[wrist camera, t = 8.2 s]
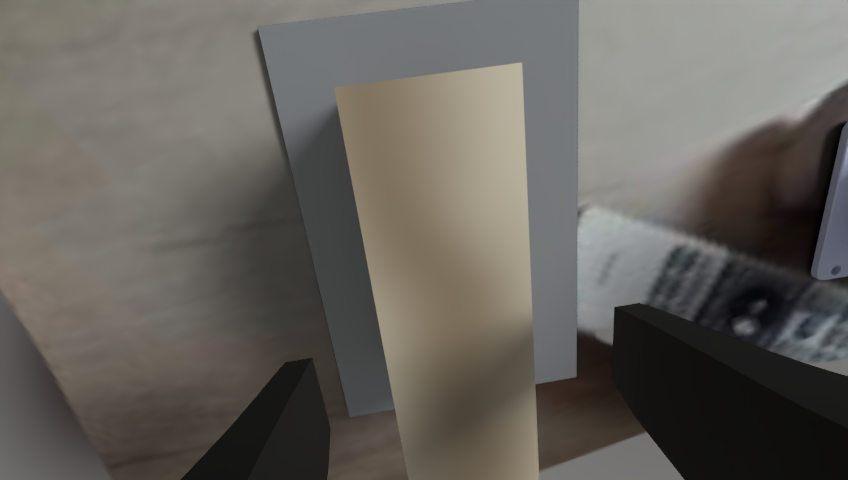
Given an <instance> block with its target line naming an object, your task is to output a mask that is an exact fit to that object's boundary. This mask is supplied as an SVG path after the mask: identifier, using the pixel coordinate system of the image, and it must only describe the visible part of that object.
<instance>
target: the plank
mask: <svg viewBox="0 0 848 480" xmlns="http://www.w3.org/2000/svg"><path fill="white" fill-rule="evenodd" d="M334 90H335V96H336V101H337V106H338V111H339V117H340V122H341V127H342V133H343V138H344V143H345V148H346V154H347V159H348V164H349V169H350V175H351V180H352V185H353V190H354V196H355V201H356V206H357V212H358V217H359V222H360V227H361V233H362V238H363V243H364V248H365V254H366V259H367V264H368V270H369V275H370V280H371V285H372V291H373V296H374V301H375V306H376V312H377V317H378V322H379V327H380V333H381V338H382V343H383V349H384V354H385V359H386V364H387V370H388V375H389V380H390V385H391V391H392V396H393V401H394V406H395V412H396V417H397V422H398V428H399V433H400V438H401V443H402V449H403V454H404V459H405V464H406V470H407V475H408V480H539V462H538V437H537V413H536V388H535V364H534V340H533V315H532V291H531V266H530V242H529V217H528V193H527V169H526V144H525V120H524V95H523V71H522V63H514V64H507V65H499V66H492V67H484V68H477V69H470V70H462V71H455V72H447V73H440V74H432V75H425V76H417V77H410V78H402V79H395V80H387V81H380V82H373V83H365V84H358V85H350V86H343V87H335V88H334Z"/></svg>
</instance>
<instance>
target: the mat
mask: <svg viewBox="0 0 848 480" xmlns="http://www.w3.org/2000/svg"><path fill="white" fill-rule="evenodd" d="M578 15H579V0H475V1H466V2H458V3H449V4H441V5H433V6H424V7H416V8H408V9H399V10H391V11H383V12H374V13H366V14H358V15H349V16H341V17H333V18H324V19H316V20H308V21H299V22H291V23H283V24H274V25H266V26H258V31H259V35H260V39H261V43H262V48H263V52H264V56H265V60H266V65H267V69H268V73H269V77H270V82H271V86H272V90H273V94H274V99H275V103H276V107H277V111H278V116H279V120H280V124H281V128H282V133H283V137H284V141H285V145H286V150H287V154H288V158H289V162H290V167H291V171H292V175H293V179H294V184H295V188H296V192H297V196H298V201H299V205H300V209H301V213H302V218H303V222H304V226H305V231H306V235H307V239H308V243H309V248H310V252H311V256H312V260H313V265H314V269H315V273H316V277H317V282H318V286H319V290H320V294H321V299H322V303H323V307H324V311H325V316H326V320H327V324H328V328H329V333H330V337H331V341H332V345H333V350H334V354H335V358H336V362H337V367H338V371H339V375H340V379H341V384H342V388H343V392H344V396H345V401H346V405H347V409H348V413H349V417H355V416H361V415H366V414H372V413H377V412H383V411H389V410H394V409H395V406H394V401H393V396H392V391H391V385H390V380H389V375H388V370H387V364H386V359H385V354H384V349H383V343H382V338H381V333H380V327H379V322H378V317H377V312H376V306H375V301H374V296H373V291H372V285H371V280H370V275H369V270H368V264H367V259H366V254H365V248H364V243H363V238H362V233H361V227H360V222H359V217H358V212H357V206H356V201H355V196H354V190H353V185H352V180H351V175H350V169H349V164H348V159H347V154H346V148H345V143H344V138H343V133H342V127H341V122H340V117H339V111H338V106H337V101H336V96H335V90H334V88H335V87H343V86H350V85H358V84H365V83H373V82H380V81H387V80H395V79H402V78H410V77H417V76H425V75H432V74H440V73H447V72H455V71H462V70H470V69H477V68H484V67H492V66H499V65H507V64H514V63H522V71H523V95H524V120H525V144H526V169H527V193H528V217H529V242H530V266H531V291H532V315H533V340H534V364H535V384H539V383H545V382H551V381H556V380H562V379H567V378H573V377H577V196H578Z"/></svg>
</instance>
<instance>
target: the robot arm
mask: <svg viewBox="0 0 848 480" xmlns="http://www.w3.org/2000/svg"><path fill="white" fill-rule="evenodd" d="M811 275H812V276H813V277H814V278H817V279H819V280H829V279H835V278H841V277H846V276H848V122H847V123H846V124H845V126H844V127H843V129H842V132H841V137H840V141H839V146H838V150H837V155H836V159H835V164H834V168H833V173H832V177H831V182H830V187H829V191H828V196H827V200H826V205H825V209H824V214H823V218H822V223H821V227H820V232H819V237H818V241H817V246H816V250H815V255H814V259H813V264H812V268H811ZM613 335H614V337H613V358H612V379H613V381H614V382H615V384H616V386H617V388H618V389H619V391H620V393H621V394H622V396H623V398H624V400H625V401H626V403H627V404H628V406H629V408H630V409H631V411H632V412H633V414H634V416H635V417H636V418H637V420H638V421H639V422H640V423H641V425H642V426H643V427H644V429H645V430H646V431H647V433H648V434H649V435H650V436H651V438H652V439H653V440H654V441H655V443H656V444H657V445H658V447H659V448H660V449H661V450H662V452H663V453H664V454H665V455H666V457H667V458H668V459H669V460H670V462H671V463H672V464H673V465H674V467H675V468H676V469H677V471H678V472H679V473H680V474H681V476H682V477H683V478H684V479H685V480H848V376H845V375H841V374H838V373H834V372H831V371H827V370H825V369H821V368H818V367H815V366H811V365H809V364H806V363H803V362H800V361H797V360H794V359H791V358H788V357H785V356H782V355H779V354H776V353H773V352H770V351H768V350H765V349H762V348H759V347H757V346H754V345H751V344H748V343H746V342H743V341H740V340H738V339H735V338H732V337H730V336H727V335H724V334H722V333H719V332H717V331H714V330H711V329H709V328H706V327H704V326H701V325H699V324H696V323H693V322H691V321H688V320H686V319H683V318H681V317H678V316H675V315H673V314H670V313H667V312H665V311H662V310H659V309H656V308H653V307H650V306H647V305H644V304H640V303H637V304H631V305H625V306H619V307H615V310H614V334H613ZM329 444H330V425H329V421H328V417H327V413H326V410H325V406H324V402H323V398H322V394H321V390H320V386H319V382H318V379H317V375H316V371H315V367H314V363H313V359H312V358H309V359H303V360H297V361H291V362H285V364H284V365H283V366H282V367H281V368H280V369H279V370H278V372H277V373H276V374H275V375H274V376H273V377H272V379H271V380H270V381H269V382H268V383H267V385H266V386H265V387H264V388H263V389H262V391H261V392H260V393H259V394H258V395H257V397H256V398H255V399H254V400H253V401H252V403H251V404H250V405H249V406H248V407H247V408H246V409H245V411H244V412H243V413H242V414H241V415H240V416H239V418H238V419H237V420H236V421H235V422H234V423H233V425H232V426H231V427H230V428H229V429H228V430H227V431H226V432H225V433H224V434H223V436H222V437H221V438H220V439H219V440H218V441H217V442H216V443H215V444H214V445H213V446H212V447H211V448H210V449H209V450H208V451H207V453H206V454H205V455H204V456H203V457H202V458H201V459H200V460H199V461H198V462H197V463H196V464H195V465H194V466H193V467H192V468H191V470H190V471H189V472H188V473H187V474H186V475H185V476H184V477H183V478H182V479H181V480H327V475H328V463H329Z"/></svg>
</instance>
